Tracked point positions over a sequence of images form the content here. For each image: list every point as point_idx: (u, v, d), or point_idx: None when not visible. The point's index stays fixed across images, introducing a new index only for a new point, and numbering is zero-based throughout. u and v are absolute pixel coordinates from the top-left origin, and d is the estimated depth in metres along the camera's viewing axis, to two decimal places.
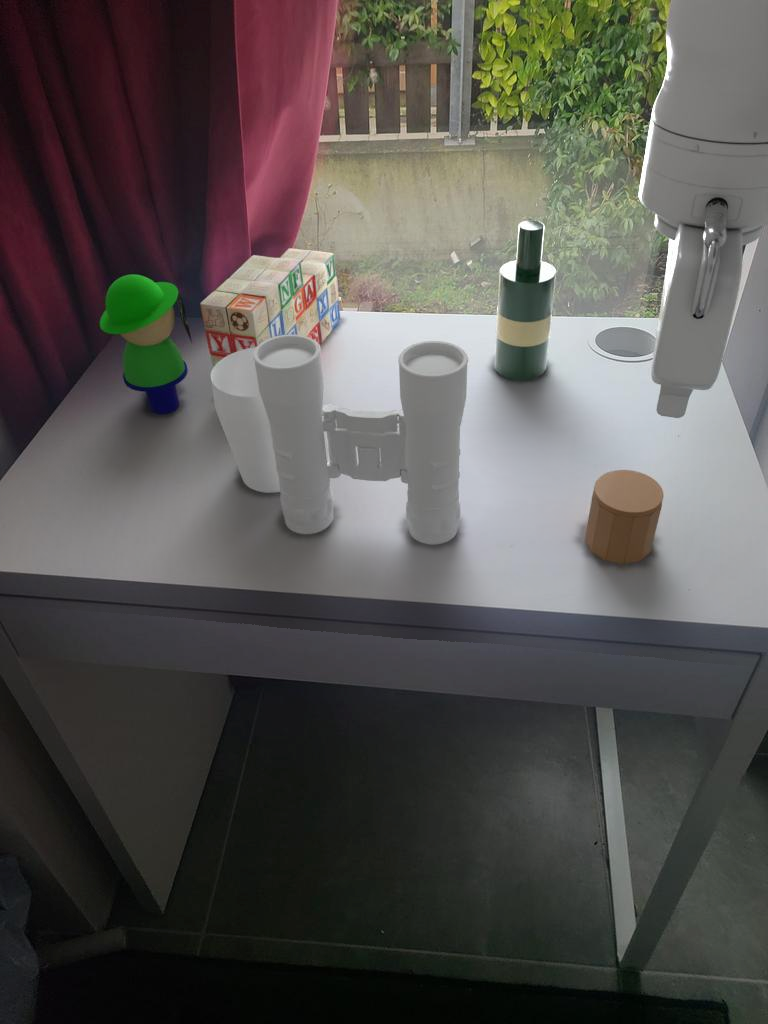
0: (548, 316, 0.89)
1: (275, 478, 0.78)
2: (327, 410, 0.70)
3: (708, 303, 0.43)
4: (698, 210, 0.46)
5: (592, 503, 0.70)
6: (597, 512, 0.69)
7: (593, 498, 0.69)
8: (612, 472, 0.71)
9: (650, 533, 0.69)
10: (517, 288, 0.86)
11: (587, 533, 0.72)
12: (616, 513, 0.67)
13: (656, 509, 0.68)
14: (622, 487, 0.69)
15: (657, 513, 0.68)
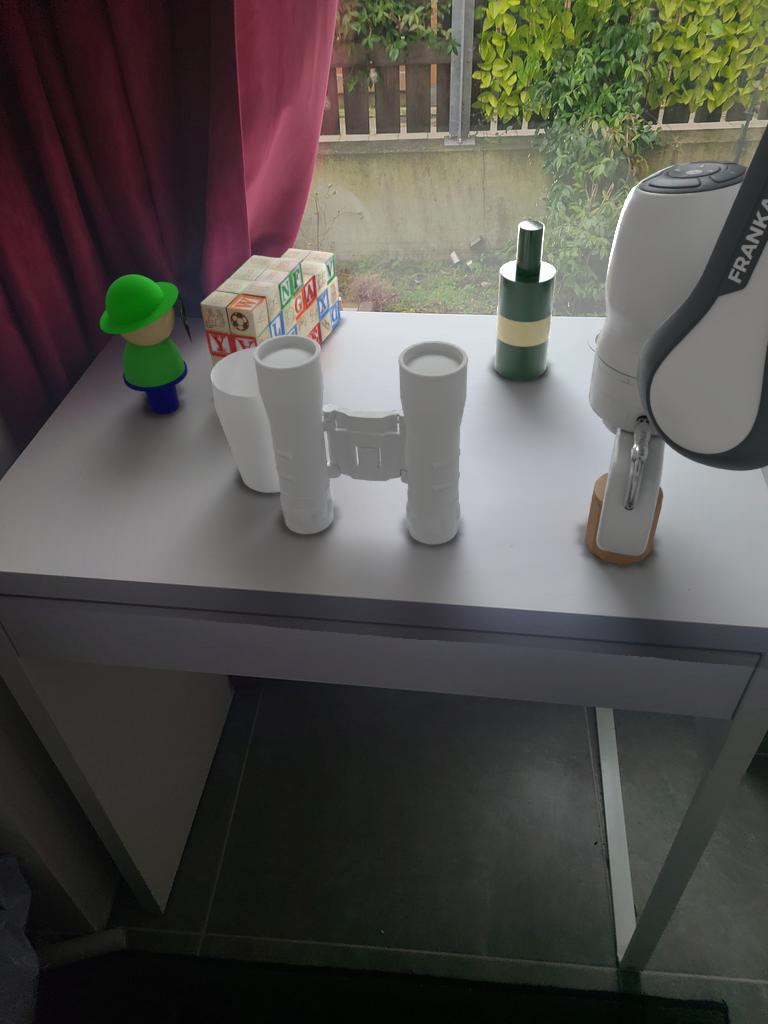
0: (548, 316, 0.89)
1: (275, 478, 0.78)
2: (327, 410, 0.70)
3: (635, 502, 0.57)
4: (630, 422, 0.60)
5: (592, 503, 0.70)
6: (597, 512, 0.69)
7: (593, 498, 0.69)
8: None
9: (650, 533, 0.69)
10: (517, 288, 0.86)
11: (587, 533, 0.72)
12: None
13: (656, 509, 0.68)
14: None
15: (656, 513, 0.68)
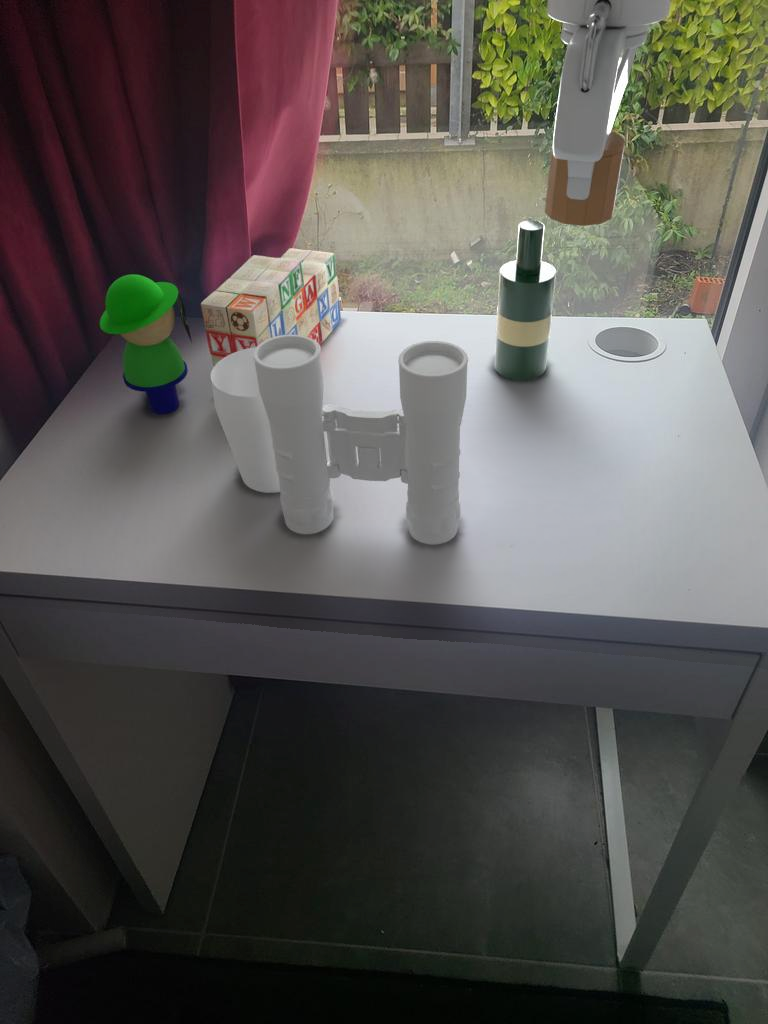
0: (548, 316, 0.89)
1: (275, 478, 0.78)
2: (327, 410, 0.70)
3: (590, 75, 0.54)
4: (588, 11, 0.57)
5: (551, 156, 0.67)
6: (556, 162, 0.66)
7: (552, 149, 0.67)
8: None
9: (611, 186, 0.67)
10: (517, 288, 0.86)
11: (547, 199, 0.69)
12: None
13: (617, 152, 0.65)
14: None
15: (618, 158, 0.65)
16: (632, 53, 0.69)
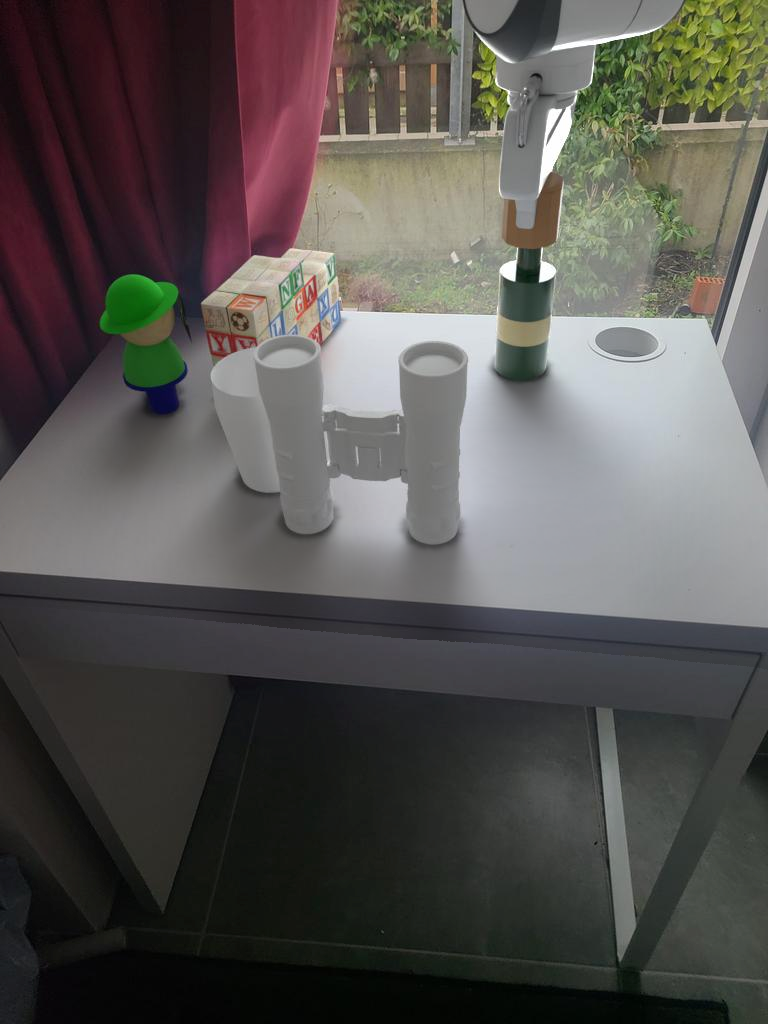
0: (548, 316, 0.89)
1: (275, 478, 0.78)
2: (327, 410, 0.70)
3: (524, 135, 0.69)
4: (525, 82, 0.72)
5: None
6: None
7: None
8: None
9: (553, 216, 0.82)
10: (517, 288, 0.86)
11: (502, 227, 0.84)
12: None
13: (556, 189, 0.80)
14: None
15: (557, 194, 0.80)
16: (571, 107, 0.84)
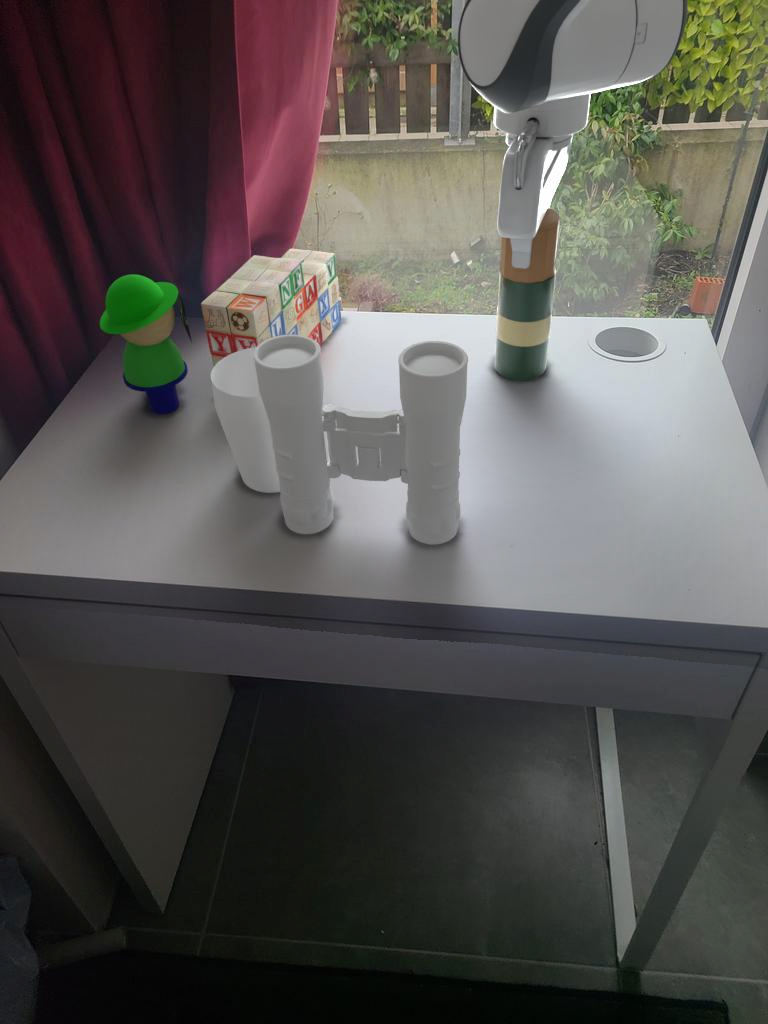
0: (548, 316, 0.89)
1: (275, 478, 0.78)
2: (327, 410, 0.70)
3: (521, 178, 0.72)
4: (522, 126, 0.74)
5: None
6: None
7: None
8: None
9: (549, 252, 0.84)
10: (517, 288, 0.86)
11: (500, 261, 0.87)
12: None
13: (552, 227, 0.82)
14: None
15: (553, 231, 0.83)
16: None
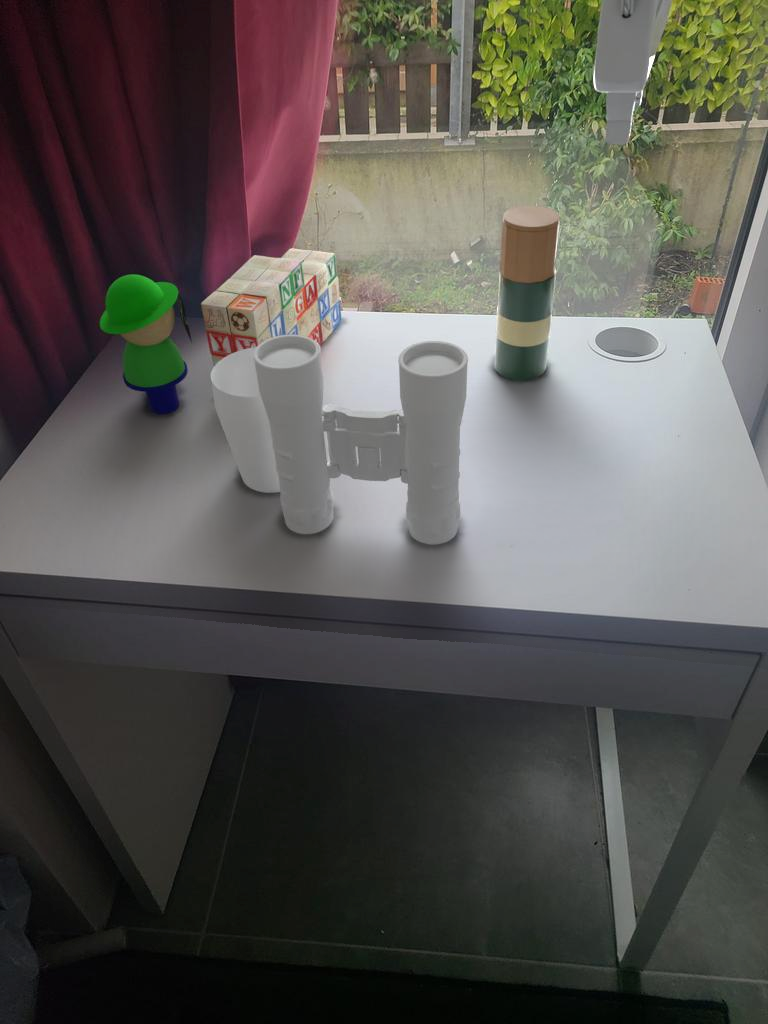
0: (548, 316, 0.89)
1: (275, 478, 0.78)
2: (327, 410, 0.70)
3: None
4: None
5: (502, 229, 0.85)
6: (505, 234, 0.84)
7: (503, 224, 0.84)
8: (520, 207, 0.86)
9: (549, 252, 0.84)
10: (517, 288, 0.86)
11: (500, 261, 0.87)
12: (519, 229, 0.82)
13: (552, 227, 0.82)
14: (526, 214, 0.84)
15: (553, 231, 0.83)
16: None
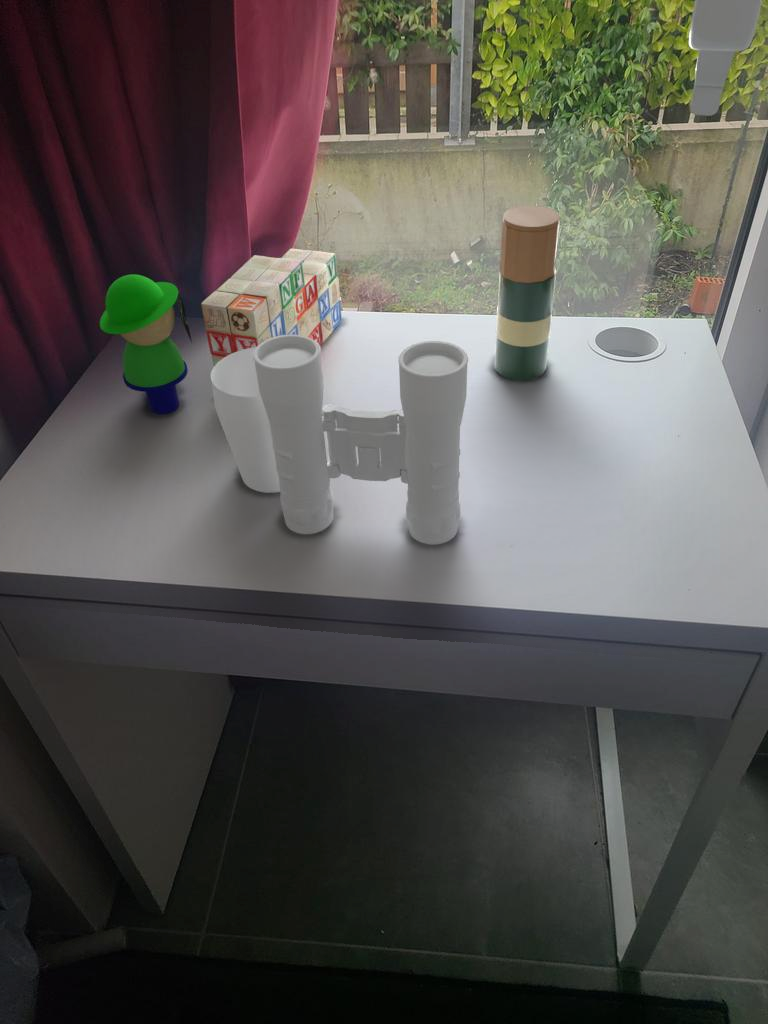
0: (548, 316, 0.89)
1: (275, 478, 0.78)
2: (327, 410, 0.70)
3: None
4: None
5: (502, 229, 0.85)
6: (505, 234, 0.84)
7: (503, 224, 0.84)
8: (520, 207, 0.86)
9: (549, 252, 0.84)
10: (517, 288, 0.86)
11: (500, 261, 0.87)
12: (519, 229, 0.82)
13: (552, 227, 0.82)
14: (526, 214, 0.84)
15: (553, 231, 0.83)
16: None
